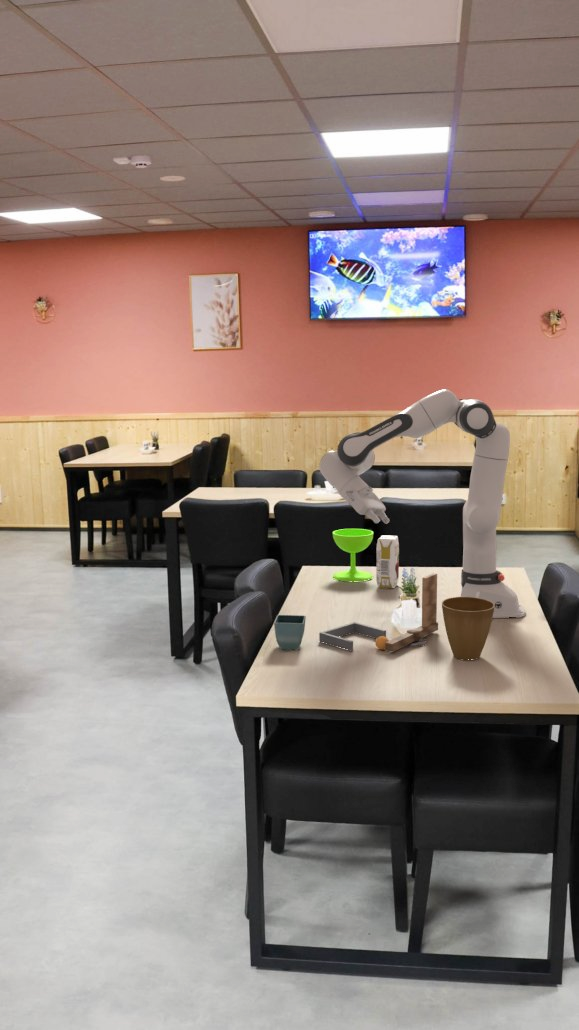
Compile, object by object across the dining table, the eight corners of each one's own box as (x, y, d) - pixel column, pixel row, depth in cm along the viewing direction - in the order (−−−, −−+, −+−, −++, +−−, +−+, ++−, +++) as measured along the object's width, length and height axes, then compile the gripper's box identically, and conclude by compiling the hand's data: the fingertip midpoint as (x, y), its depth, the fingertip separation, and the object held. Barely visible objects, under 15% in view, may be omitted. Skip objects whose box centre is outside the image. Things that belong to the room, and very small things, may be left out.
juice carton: (375, 588, 348) (375, 538, 344) (379, 583, 356) (380, 534, 352) (395, 589, 345) (395, 539, 342) (399, 584, 353) (399, 535, 350)
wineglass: (379, 580, 360) (379, 534, 357) (340, 583, 355) (340, 537, 352) (364, 571, 375) (364, 527, 372) (327, 574, 371) (327, 530, 367)
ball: (389, 647, 278) (389, 634, 278) (388, 651, 274) (388, 638, 274) (375, 647, 279) (375, 634, 278) (375, 651, 275) (375, 638, 274)
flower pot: (306, 643, 283) (305, 615, 282) (303, 652, 274) (303, 623, 273) (277, 642, 284) (277, 614, 282) (274, 652, 275) (273, 622, 274)
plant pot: (430, 655, 270) (430, 602, 267) (464, 645, 279) (466, 593, 276) (468, 669, 259) (470, 613, 256) (504, 658, 267) (505, 604, 265)
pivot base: (408, 637, 288) (408, 635, 288) (431, 641, 283) (431, 639, 283) (395, 643, 282) (395, 641, 282) (418, 648, 277) (418, 646, 277)
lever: (429, 628, 294) (429, 572, 291) (440, 630, 291) (441, 574, 288) (382, 649, 273) (383, 590, 270) (394, 652, 270) (395, 592, 267)
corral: (386, 639, 286) (386, 630, 285) (350, 651, 275) (350, 641, 274) (354, 631, 295) (354, 621, 294) (319, 642, 284) (319, 632, 284)
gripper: (350, 483, 296) (379, 514, 292) (372, 486, 315) (399, 516, 310) (337, 497, 298) (365, 528, 294) (359, 500, 316) (386, 529, 312)
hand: (383, 522), depth 302 cm, fingers open, 8 cm apart
